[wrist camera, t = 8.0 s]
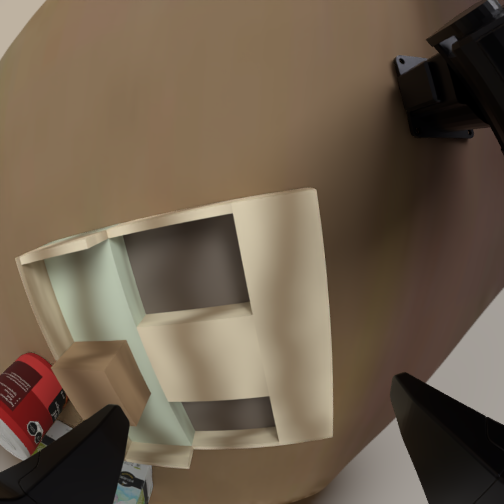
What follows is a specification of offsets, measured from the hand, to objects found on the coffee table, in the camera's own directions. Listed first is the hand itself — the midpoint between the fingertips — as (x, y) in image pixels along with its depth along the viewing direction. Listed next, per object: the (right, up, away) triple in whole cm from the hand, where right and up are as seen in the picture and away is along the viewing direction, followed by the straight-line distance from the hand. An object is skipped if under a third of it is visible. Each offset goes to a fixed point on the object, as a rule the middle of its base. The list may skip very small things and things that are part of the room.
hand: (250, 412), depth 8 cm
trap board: (-5, -3, +14) cm, 15 cm away
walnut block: (-12, -5, +13) cm, 18 cm away
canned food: (-25, -10, +17) cm, 32 cm away
